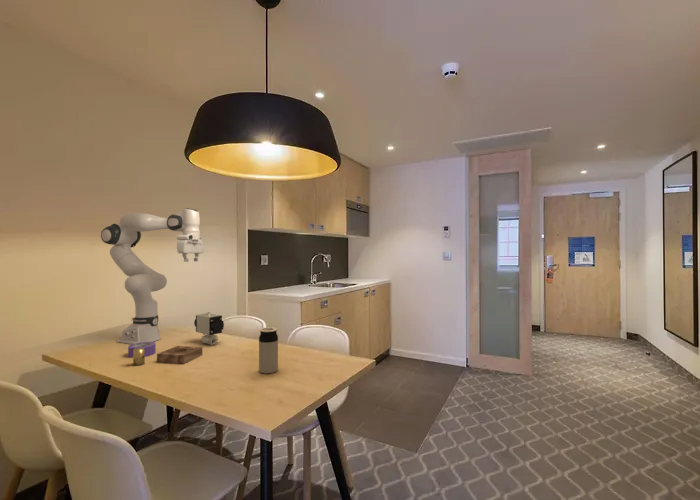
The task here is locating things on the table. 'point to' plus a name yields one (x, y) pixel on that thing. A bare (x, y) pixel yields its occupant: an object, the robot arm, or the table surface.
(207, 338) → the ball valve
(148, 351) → the tape roll
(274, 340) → the travel mug
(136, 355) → the cylinder
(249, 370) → the table surface
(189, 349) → the block
